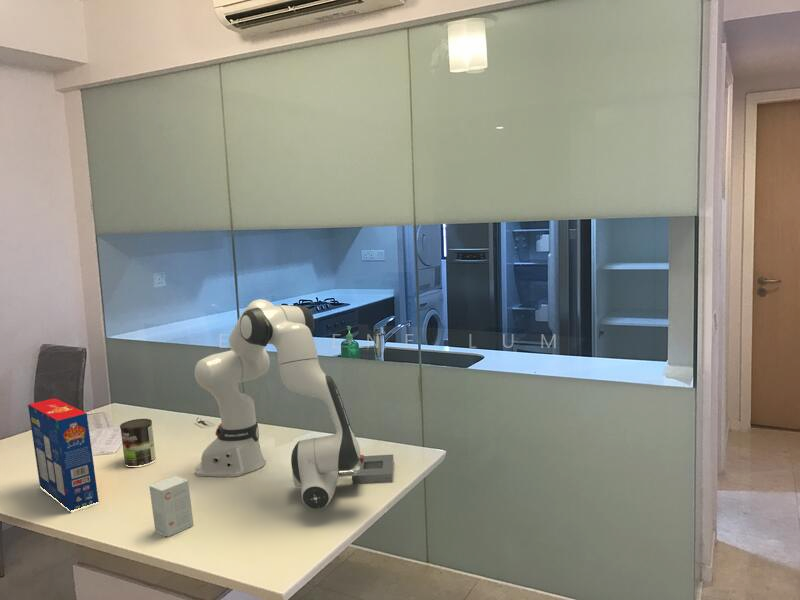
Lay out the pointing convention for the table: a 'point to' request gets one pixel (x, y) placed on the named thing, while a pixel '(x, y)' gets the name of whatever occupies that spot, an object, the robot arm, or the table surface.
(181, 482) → the small box
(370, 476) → the socket plate
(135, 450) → the coffee can
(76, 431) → the blue cereal box
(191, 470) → the table surface
